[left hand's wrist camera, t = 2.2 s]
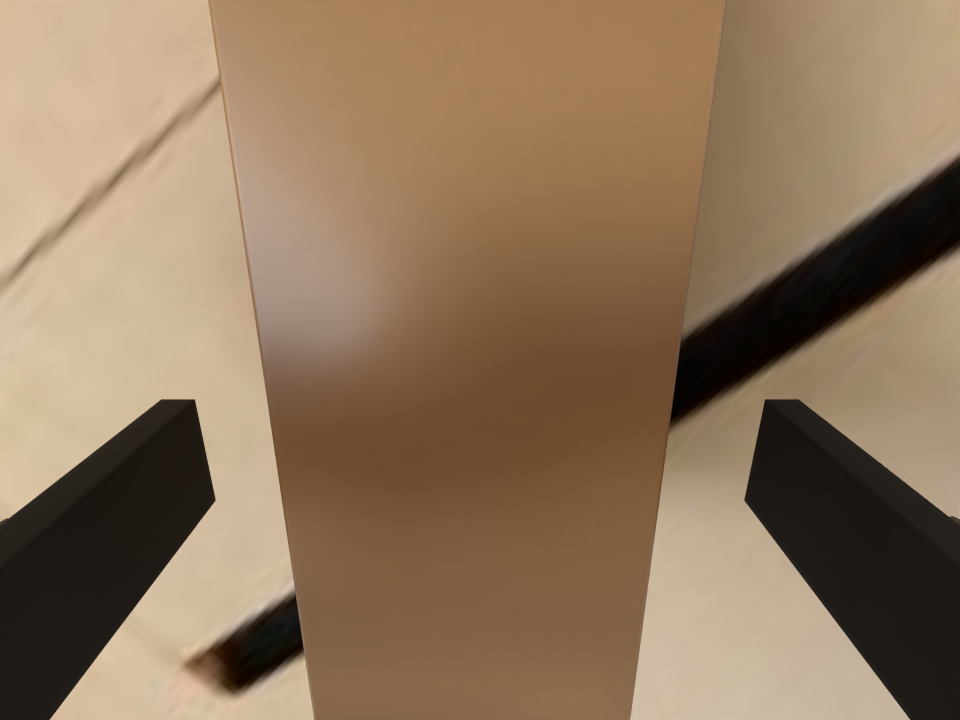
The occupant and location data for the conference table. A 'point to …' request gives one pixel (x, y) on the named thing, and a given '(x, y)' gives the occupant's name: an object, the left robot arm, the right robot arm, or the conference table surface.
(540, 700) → the bar
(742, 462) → the conference table surface
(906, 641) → the left robot arm
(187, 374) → the conference table surface
